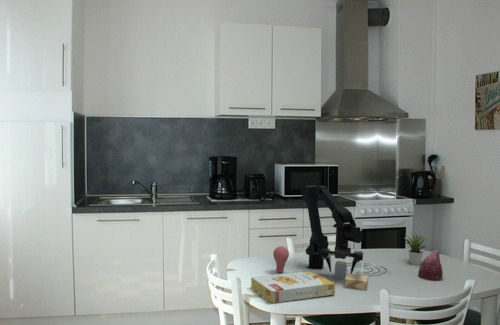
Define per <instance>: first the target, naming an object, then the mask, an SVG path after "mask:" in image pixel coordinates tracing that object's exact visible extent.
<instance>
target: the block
mask: <svg viewBox="0 0 500 325" xmlns="http://www.w3.org/2000/svg"><path fill="white" fill-rule="evenodd" d="M368 285H369V275H366V274H364V275H363V274H356V273H352V274H351V273H348V272H347V275H346V278H345V279H344V289H350V288H352V290H358V289H362V291H367V290H368V287H367V286H368Z"/></svg>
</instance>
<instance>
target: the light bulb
mask: <svg viewBox="0 0 500 325" xmlns="http://www.w3.org/2000/svg"><path fill="white" fill-rule="evenodd" d="M272 255H273V259H274V261H275V264H276V267H275V271H276V272H277V273H283V272H284V271H285V266H286V263H287V261H288V258H290V253H289V250H288V248H286V246H281V245H280V246H277V247H275V249H274V250H273V253H272Z"/></svg>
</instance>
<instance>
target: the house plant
mask: <svg viewBox="0 0 500 325" xmlns="http://www.w3.org/2000/svg"><path fill="white" fill-rule="evenodd" d="M410 234H411V237H412V238H413V239H412V238H411V237H410V236H409V235H407V234H406V233H405V234H404V235H406V236H407V237H406V236H405V237H404V239H405V241H406V242H405V243H404V245H405V244H406V245H408V246H407V247H408V248H410V249H409V250H408V260H409V264H410V265H415V266H421V264H422V261H423V255H424V251H423V250H422V249H427V248H428V247H429V246H428V245H427V244H423V243H424V241H425V240H427V239H428V238H430V237H432V235H429V236H426V235H425V234H424V233H423V232H422V233H420V235H419V236H418V234H417V233H415V235H414V233H413V232H410ZM423 234H424V235H423ZM422 244H423V245H422ZM427 246H428V247H427Z"/></svg>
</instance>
